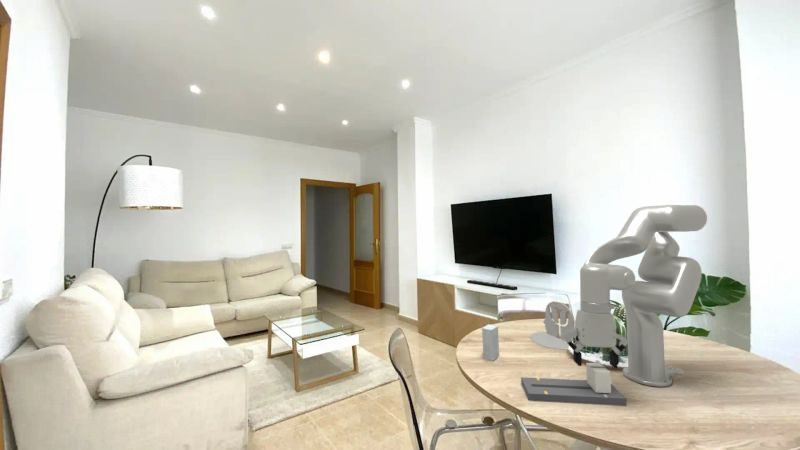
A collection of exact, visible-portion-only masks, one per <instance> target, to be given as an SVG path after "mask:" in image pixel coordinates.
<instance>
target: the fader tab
mask: <svg viewBox="0 0 800 450" xmlns="http://www.w3.org/2000/svg"><path fill="white" fill-rule="evenodd" d="M585 367H586V380H587V383H588V384H589V385H590V386H591V387H592V389H593V390H594V391H595V392H597V393H611V384H612V382H611V379H612V378H611V372H610V371H609V370H608V368H607V367H606V366H604V365H603V364H602V363H600V362H586V366H585Z"/></svg>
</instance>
